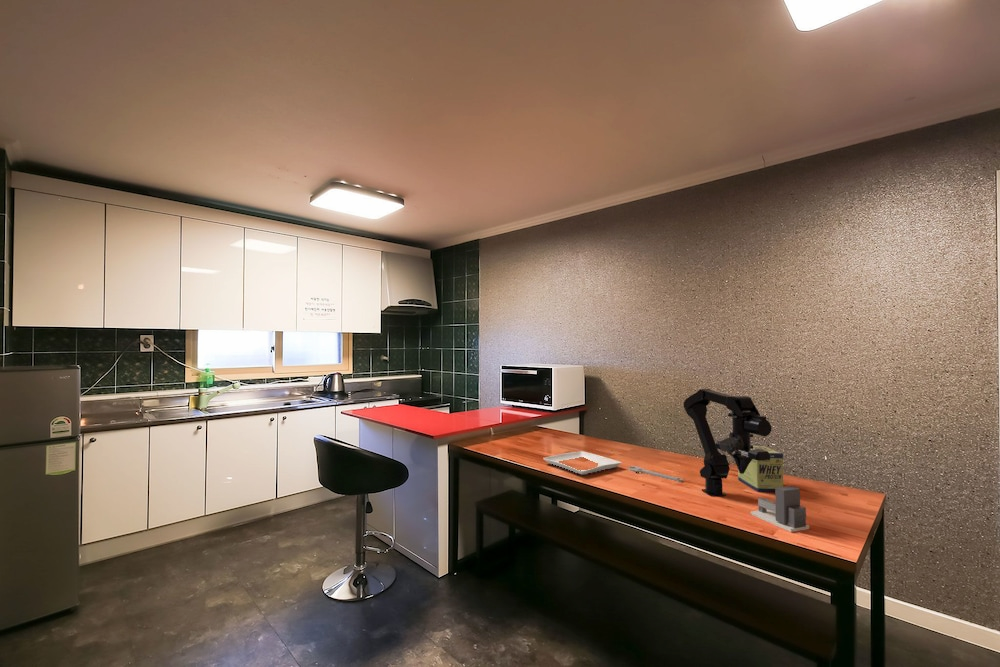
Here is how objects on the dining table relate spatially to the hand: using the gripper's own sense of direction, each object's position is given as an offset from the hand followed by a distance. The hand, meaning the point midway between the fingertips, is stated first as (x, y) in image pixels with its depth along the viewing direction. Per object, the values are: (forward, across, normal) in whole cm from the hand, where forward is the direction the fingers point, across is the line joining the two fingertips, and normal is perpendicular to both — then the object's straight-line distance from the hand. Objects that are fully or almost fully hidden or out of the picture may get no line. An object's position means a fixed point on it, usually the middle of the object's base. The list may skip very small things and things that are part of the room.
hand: (741, 473), depth 153 cm
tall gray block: (+11, +17, +1) cm, 20 cm away
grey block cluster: (+11, +14, +1) cm, 18 cm away
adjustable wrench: (+13, -40, -8) cm, 43 cm away
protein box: (+12, -16, +27) cm, 34 cm away
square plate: (+13, -62, -32) cm, 71 cm away
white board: (+12, +13, +1) cm, 18 cm away
